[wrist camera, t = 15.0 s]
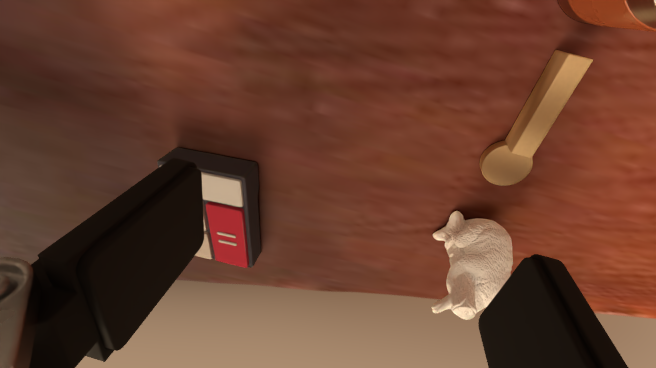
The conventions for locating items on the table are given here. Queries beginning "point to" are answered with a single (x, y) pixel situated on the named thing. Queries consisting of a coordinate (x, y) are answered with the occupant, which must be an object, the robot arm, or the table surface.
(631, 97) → the table surface
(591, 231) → the table surface
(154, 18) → the table surface
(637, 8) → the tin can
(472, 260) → the white squirrel figurine
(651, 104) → the table surface
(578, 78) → the wooden spoon
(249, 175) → the calculator
